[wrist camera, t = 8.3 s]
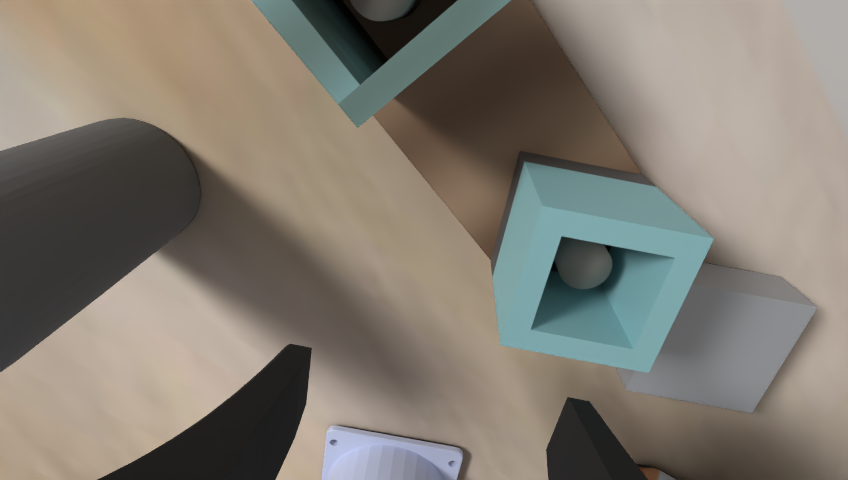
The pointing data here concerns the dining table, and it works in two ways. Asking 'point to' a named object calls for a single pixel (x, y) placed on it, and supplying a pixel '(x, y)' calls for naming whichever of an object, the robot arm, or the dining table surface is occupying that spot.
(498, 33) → the peg board
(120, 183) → the bottle
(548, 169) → the sleeve
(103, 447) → the dining table surface
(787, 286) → the block
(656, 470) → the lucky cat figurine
